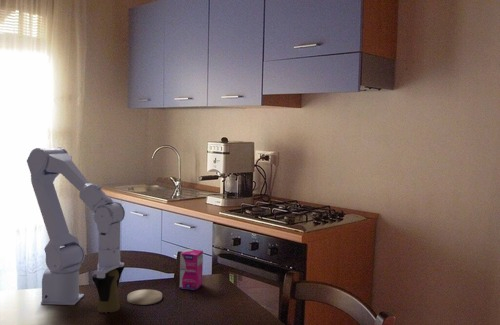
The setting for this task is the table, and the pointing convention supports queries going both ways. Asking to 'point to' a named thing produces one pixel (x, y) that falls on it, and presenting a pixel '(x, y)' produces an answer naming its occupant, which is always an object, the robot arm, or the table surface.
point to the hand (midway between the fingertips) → (108, 296)
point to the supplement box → (191, 269)
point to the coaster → (144, 297)
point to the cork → (111, 296)
